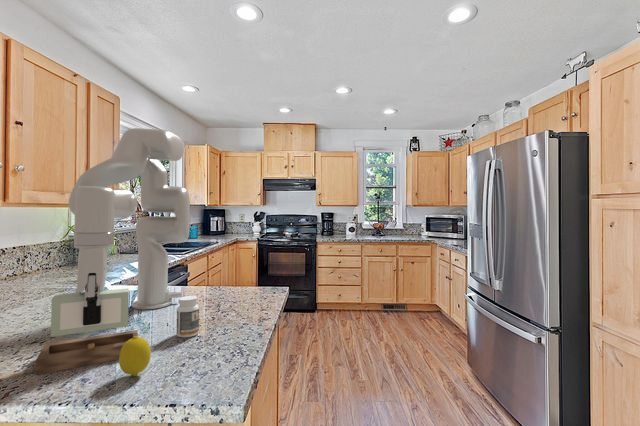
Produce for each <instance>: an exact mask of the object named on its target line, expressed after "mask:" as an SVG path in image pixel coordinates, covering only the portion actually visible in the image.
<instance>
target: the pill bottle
mask: <svg viewBox="0 0 640 426" xmlns="http://www.w3.org/2000/svg"><path fill="white" fill-rule="evenodd" d="M197 302H198V297H197V296H196V295H186V296H181V297H180V298H178V304H179V306H177V308H176V331H175V332H176V336H177V337H178V338H191V337H195V336H196V335H198V334H199V333H200V308H199V307H200V306H199V305H198V304H197Z"/></svg>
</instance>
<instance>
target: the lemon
mask: <svg viewBox="0 0 640 426" xmlns="http://www.w3.org/2000/svg"><path fill="white" fill-rule="evenodd" d="M151 354H152V350H151V346H150V344H149V341H147V340H146V339H145V338H143V337H141V336H139V335H138V336H134V337H133V338H131V339H129V340H128V341H127V342H126V343H125V344H124V345H123V346H122V348H121V351H120V355H119V359H118V363H119V367H120V369H121V370H122V372H123V373H124V374H127V375H130V376H132V377H137V376H138V375H139V374H140V373H142V372H143V371H144V370H145V369H146V368H148V365H149V364H150V361H151V357H152V355H151Z"/></svg>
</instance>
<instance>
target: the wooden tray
mask: <svg viewBox="0 0 640 426" xmlns="http://www.w3.org/2000/svg"><path fill="white" fill-rule="evenodd" d="M134 336H138V337H139V335H138V329H133V330H129V331H128V330H127V331H122V332H113V333H109V334H101V335H93V336H88V337H82V338H81V337H80V338H75V339H68V340H60V341H53V342H45V344H44V346H43V347H42V349H41V350H40V353H39V354H38V356H37V358H36V359H35V376H36V375H37V376H38V375H41V374H48V373H53V372H58V371H59V372H60V371H65V370H69V369H74V368H79V367H80V368H81V367H85V366H91V365H97V364H101V363H107V362H113V361H117V360H118V361H119V355H120V351H121V348H122V346H123V345H124V344H125V343H126V342H127V341H128V340H129V339H131V338H133V337H134Z"/></svg>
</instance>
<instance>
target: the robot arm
mask: <svg viewBox="0 0 640 426" xmlns="http://www.w3.org/2000/svg"><path fill="white" fill-rule="evenodd" d="M184 150H185V148H184V143H183V141H182V139H181V137H179V136H178V135H176V134H175V133H173V132H171V131H167V130H164V129H157V128H155V129H154V128H152V129H151V128H136V127H135V128H128V129H127V130H125V131H124V133H123V134H122V135H121V138H120V140H119V141H118V143H117V145H116V148H115V150H114V152H113V153H112V155H111V157H110V158H108V159H105V160H104V161H101V162H100V163H98V164H96V165H94V166H92V167H91V168H89V169H86V171H84V172H83V173H82V174H81V175H80V176H79V177H78V179H77V181H76V182H75V185H74V186H73V187H72V189H71V192H70V195H69V198H68V207H69V208H68V209H69V210H70V212H71V214H72V215H74V231H73V232H74V233H73V248H74V249H78V250H79V251H78V258H77V260H78V261H77V271H76V272H77V277H76V292H75V293H78V294H80V293H82V292H85V300H84V307H83V325H92V324H99V323H100V322H101V305H100V292H101V291H105V285H106V279H107V273H108V271H107V270H108V255H109V254H108V253H109V252H108V251H109V248H112V247H113V248H114V246H115V219H127V218H130V217H132V216H133V215H134V214H135V213H136V212H137V209H138V207H139V202H138V198H137V197H136V195H135V194H134V193H133V192H132V191H131V190H128V189H125V188H110V187H111V186H113V185H118V184H122V183H126V182H129V181H132V180H135V179H138V178H139V177H140V206H141V208H142V210H143V211H144V212H148V213H159V214H161V213H162V214H166V213H167V214H174V215H175V216H164V215H162V216H161V215H159V216H158V215H156V216H155V215H154V216H153V215H151V216H143V217H141V218H140V219H138V220H137V221H136V224H135V235H136V241H137V242H136V243H137V254H138V255H137V292H136V293H137V300H135V301H134V302H132V304H131V306H132V308H133V309H135V310H142V311H143V310H144V311H145V310H154V309H155V310H156V309H161V308H165V307H168V306H170V305H172V304H173V299H177V298H178V299H179V298H181V297H182V292H181V291H179V292H177V291H173V292H171V291H169V289H168V284H169V283H168V280H169V278H168V271H169V255H168V251H167V250H166V249H165V247H164V246H163V245H162V244H181V243H185V242H187V241H188V239H189V237H190V229H191V228H190V219H191V217H190V216H191V213H190V209H191V208H190V207H191V206H190V205H191V204H190V194H189V192H188V190H187V189H186V188H184V187H182V186H169V185H168V171H167V170H166V168H165V166H164V165H163V164H162V163H161V162H160V161H172V162H173V161H174V162H177V161H180V160H181V159H182V158H183V156H184V152H185V151H184ZM95 291H97V292H95ZM95 294H97V296H96V295H95Z"/></svg>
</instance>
